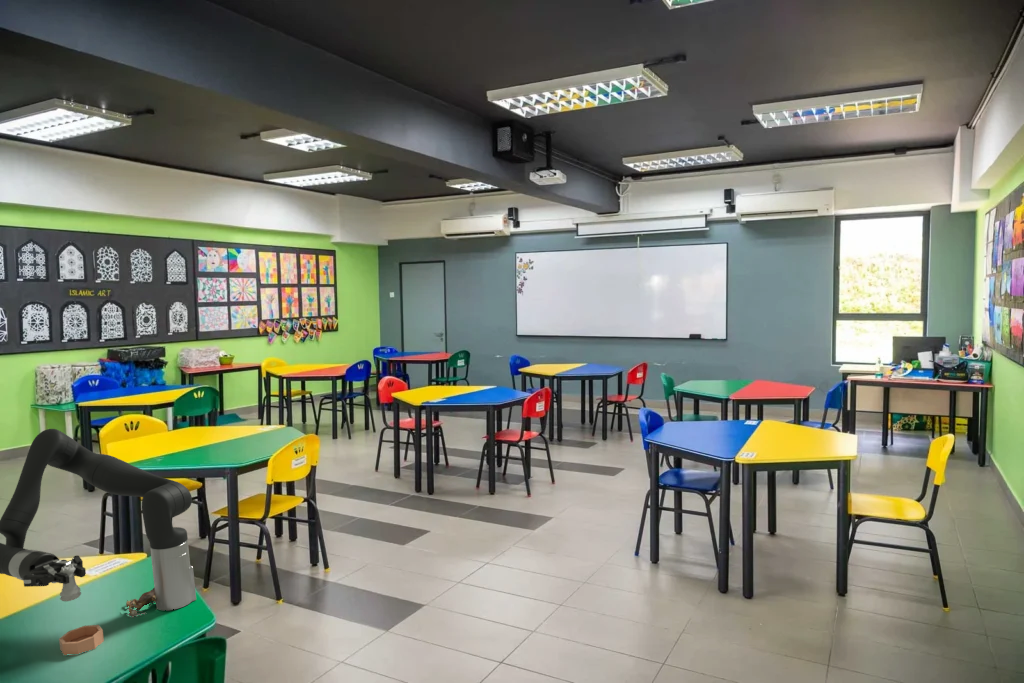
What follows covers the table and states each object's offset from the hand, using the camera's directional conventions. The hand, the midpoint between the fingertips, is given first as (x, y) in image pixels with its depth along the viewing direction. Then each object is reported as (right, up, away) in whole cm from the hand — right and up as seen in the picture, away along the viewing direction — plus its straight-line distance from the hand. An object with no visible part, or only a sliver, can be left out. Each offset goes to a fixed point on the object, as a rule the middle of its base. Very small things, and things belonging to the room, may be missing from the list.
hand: (75, 575), depth 163 cm
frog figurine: (+5, -16, +21) cm, 27 cm away
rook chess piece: (-2, -6, +2) cm, 7 cm away
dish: (+1, -18, +1) cm, 18 cm away
